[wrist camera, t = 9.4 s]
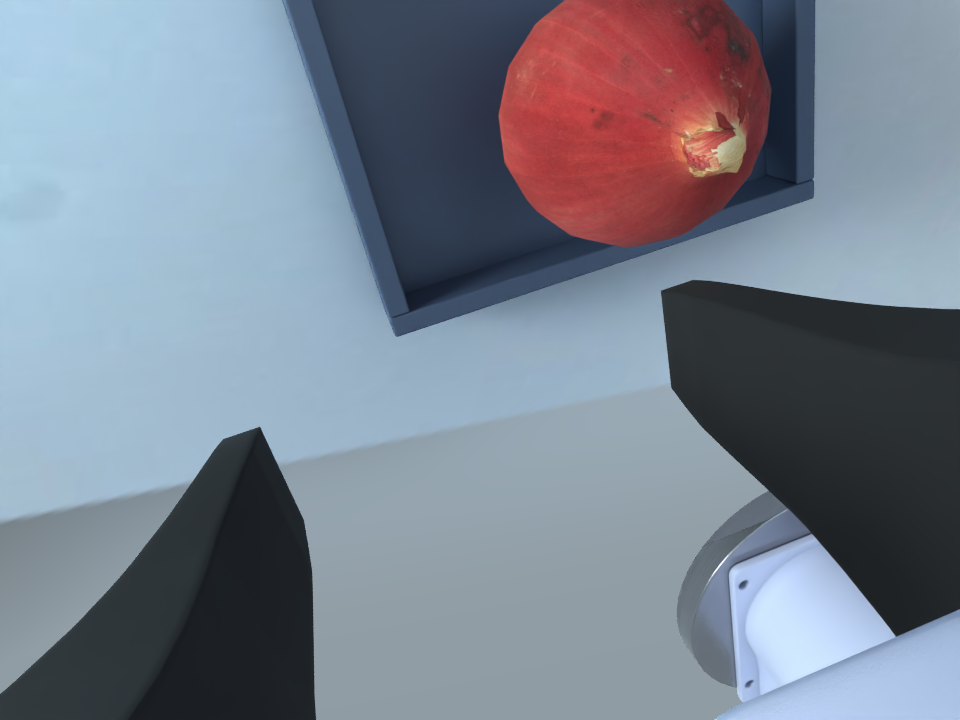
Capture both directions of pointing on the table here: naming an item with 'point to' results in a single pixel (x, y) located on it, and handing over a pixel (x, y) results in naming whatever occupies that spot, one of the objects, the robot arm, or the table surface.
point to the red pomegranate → (634, 116)
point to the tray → (494, 145)
